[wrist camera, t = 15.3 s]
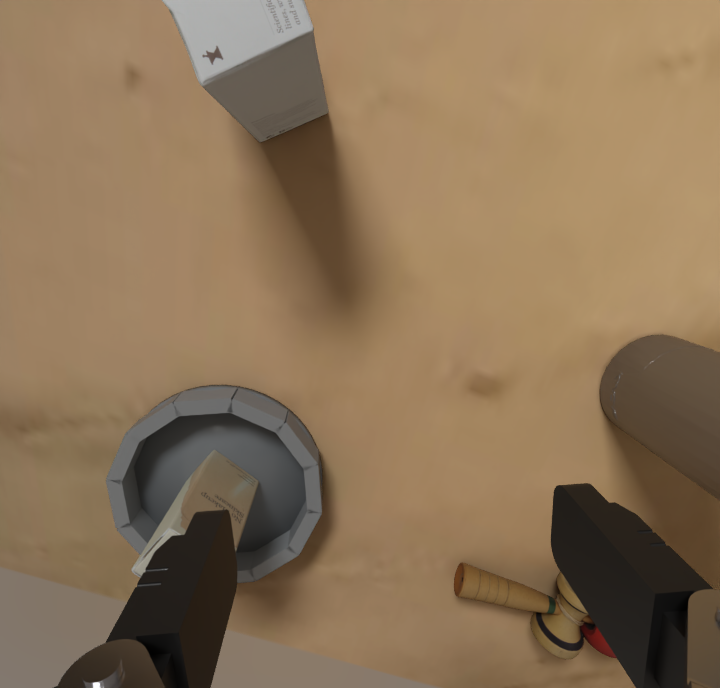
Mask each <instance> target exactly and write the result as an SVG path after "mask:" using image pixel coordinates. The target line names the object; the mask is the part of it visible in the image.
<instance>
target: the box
mask: <svg viewBox="0 0 720 688" xmlns="http://www.w3.org/2000/svg"><path fill="white" fill-rule="evenodd" d="M258 485H259V481H258V480H257V479H255V478H254V477H253V476H251V475H250V474H248V473H247V472H246V471H244V470H243V469H242V468H240V467H239V466H237V465H236V464H235V463H233V462H232V461H230V460H229V459H228V458H226V457H225V456H223V455H222V454H220V453H219V452H217V451H216V450H213V451H212V452H211V453H210V454H209V455H208V456H207V458H206V459H205V460H204V461H203V462H202V463H201V464H200V465H199V467H198V468H197V469H196V470H195V471H194V472H193V474H192V475H191V476H190V477H189V478H188V480H187V481H186V482H185V484H184V486H183V487H182V489H181V491H180V492H179V494H178V495H177V497H176V499H175V500H174V502H173V504H172V505H171V507H170V509H169V510H168V512H167V513H166V515H165V517H164V518H163V520H162V521H161V523H160V525H159V526H158V528H157V529H156V531H155V533H154V534H153V536H152V538H151V539H150V541H149V542H148V544H147V546H146V547H145V549H144V550H143V552H142V554H141V555H140V557H139V558H138V560H137V561H136V563H135V564H134V566H133V567H132V572H133V573H134V574H135V575H137V576H139V577H140V578H141V576H142V574H143V572H145V569H146V567H147V565H148V563H149V561H150V560H151V558H152V556H153V554H154V552H155V551H156V550H157V549H158V548H159V547H160V546H161V545H162V544H163V543H165V542H166V541H167V540H168V539H169V538H170V537H171V536H174V535H184V534H185V532H186V530H187V528H188V526H189V524H190V522H191V520H192V517H193V515H194V514H195V513H196V512H200V511H214V510H228V511H229V513H230V516H231V523H232V530H233V538H234V545H235V552H236V550H237V547H238V544H239V541H240V538H241V535H242V533H243V529H244V526H245V523H246V520H247V517H248V514H249V511H250V508H251V505H252V502H253V500H254V497H255V494H256V490H257V487H258Z"/></svg>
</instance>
